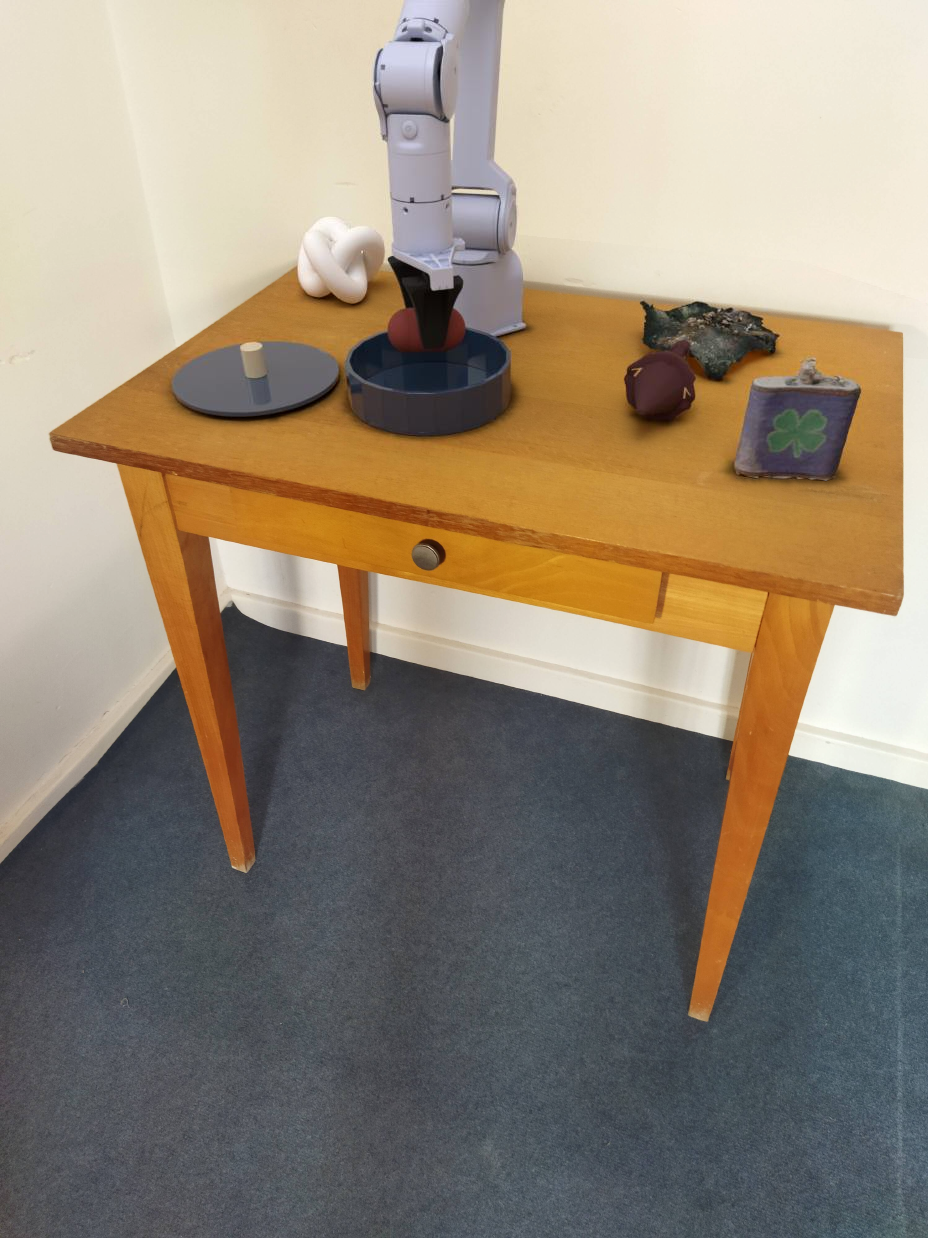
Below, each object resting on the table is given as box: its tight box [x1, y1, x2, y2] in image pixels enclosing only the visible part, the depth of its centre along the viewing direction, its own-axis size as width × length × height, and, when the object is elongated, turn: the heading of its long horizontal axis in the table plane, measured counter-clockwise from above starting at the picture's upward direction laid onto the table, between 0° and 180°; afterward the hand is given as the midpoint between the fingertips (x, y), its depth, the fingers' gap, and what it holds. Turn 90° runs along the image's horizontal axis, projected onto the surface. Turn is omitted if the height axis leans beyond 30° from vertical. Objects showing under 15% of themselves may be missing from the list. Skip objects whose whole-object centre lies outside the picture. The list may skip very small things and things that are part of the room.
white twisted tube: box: [296, 216, 386, 304], centre depth 116 cm, size 11×12×9 cm
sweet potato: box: [386, 307, 466, 353], centre depth 90 cm, size 4×8×4 cm, turn 98°
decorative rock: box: [639, 300, 780, 382], centre depth 102 cm, size 19×6×15 cm
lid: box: [171, 340, 340, 418], centre depth 97 cm, size 18×18×4 cm
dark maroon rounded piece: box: [623, 340, 697, 422], centre depth 88 cm, size 7×7×15 cm
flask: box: [733, 357, 862, 481], centre depth 78 cm, size 9×3×11 cm, turn 83°
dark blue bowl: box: [344, 327, 512, 437], centre depth 93 cm, size 17×17×5 cm
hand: (427, 337), depth 90 cm, fingers closed on sweet potato, 5 cm apart
